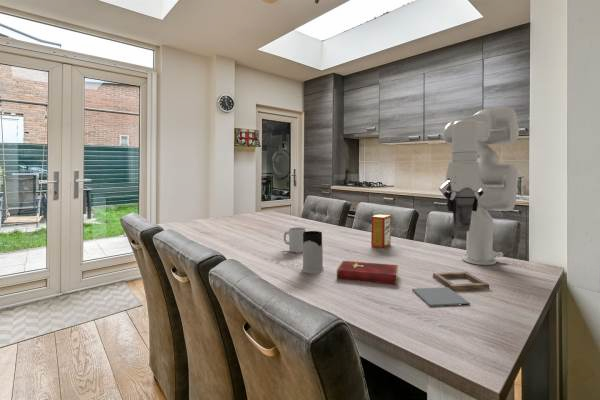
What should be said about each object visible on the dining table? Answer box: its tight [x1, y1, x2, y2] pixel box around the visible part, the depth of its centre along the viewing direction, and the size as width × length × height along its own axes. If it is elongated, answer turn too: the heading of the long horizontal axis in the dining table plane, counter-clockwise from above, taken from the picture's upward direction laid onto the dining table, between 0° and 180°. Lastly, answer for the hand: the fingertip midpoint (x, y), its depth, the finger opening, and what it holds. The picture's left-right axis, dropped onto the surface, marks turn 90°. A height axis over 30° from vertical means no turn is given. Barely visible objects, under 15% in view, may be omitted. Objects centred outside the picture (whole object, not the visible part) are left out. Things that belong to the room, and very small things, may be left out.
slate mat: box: [411, 286, 471, 307], centre depth 95 cm, size 12×12×1 cm
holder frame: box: [432, 271, 490, 291], centre depth 107 cm, size 13×13×2 cm
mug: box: [283, 226, 307, 254], centre depth 153 cm, size 12×8×11 cm
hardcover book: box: [336, 260, 399, 286], centre depth 115 cm, size 12×21×4 cm, turn 71°
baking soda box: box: [370, 213, 392, 249], centre depth 159 cm, size 10×6×16 cm
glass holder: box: [301, 230, 325, 274], centre depth 125 cm, size 9×14×15 cm, turn 160°
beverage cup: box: [452, 188, 475, 233], centre depth 104 cm, size 7×7×20 cm
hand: (462, 210), depth 105 cm, fingers closed on beverage cup, 6 cm apart
